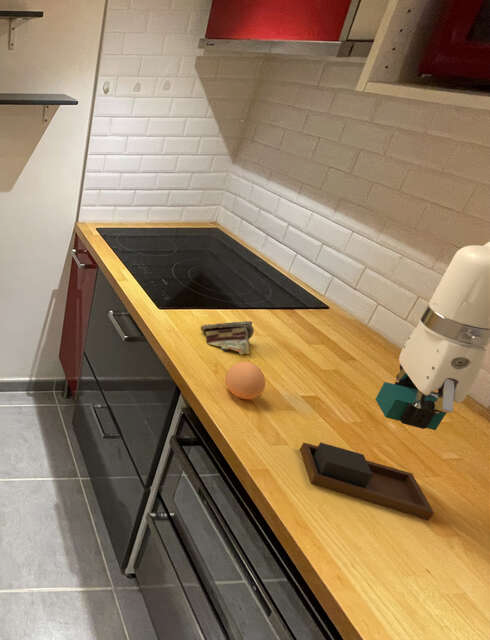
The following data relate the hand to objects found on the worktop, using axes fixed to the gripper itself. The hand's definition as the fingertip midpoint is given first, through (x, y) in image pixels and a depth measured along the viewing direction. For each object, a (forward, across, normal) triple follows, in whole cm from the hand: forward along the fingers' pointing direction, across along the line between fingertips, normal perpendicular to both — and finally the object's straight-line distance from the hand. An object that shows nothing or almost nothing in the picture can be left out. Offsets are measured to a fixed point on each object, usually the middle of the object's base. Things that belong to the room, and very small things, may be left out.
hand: (405, 412), depth 76 cm
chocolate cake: (+15, +32, +21) cm, 41 cm away
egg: (+15, +13, +20) cm, 28 cm away
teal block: (0, 0, 0) cm, 0 cm away
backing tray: (+15, -3, +2) cm, 16 cm away
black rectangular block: (+15, -3, +6) cm, 16 cm away
